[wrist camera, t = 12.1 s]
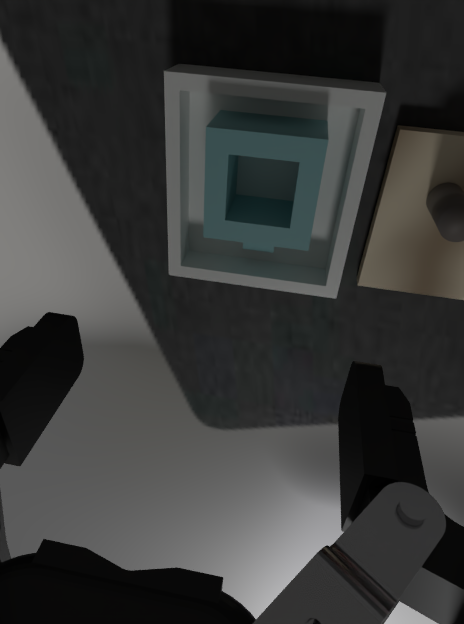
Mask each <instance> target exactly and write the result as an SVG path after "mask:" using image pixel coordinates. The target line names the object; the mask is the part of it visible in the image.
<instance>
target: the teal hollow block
mask: <svg viewBox="0 0 464 624" xmlns="http://www.w3.org/2000/svg"><path fill="white" fill-rule="evenodd" d="M328 140H329V139H328V121H325V120H315V119H305V118H296V117H286V116H276V115H266V114H256V113H246V112H236V111H227V110H220V111H219V112H218V113H217V115H216V116H215V117H214V118H213V119H212V120H211V122H210V123H209V124H208V125H207V126H206V143H205V184H204V225H203V237H205V238H213V239H220V240H228V241H236V242H243V249H248V250H256V251H263V252H271V253H273V252H274V247H282V248H290V249H297V250H305V251H308V250H309V245H310V239H311V234H312V228H313V223H314V217H315V212H316V206H317V201H318V195H319V190H320V184H321V179H322V173H323V168H324V162H325V157H326V151H327V146H328ZM239 156H248V157H257V158H266V159H275V160H284V161H293V162H299V167H298V174H297V181H296V188H295V194H294V201H288V200H280V199H272V198H263V197H255V196H246V195H238V194H236V187H237V173H238V158H239Z"/></svg>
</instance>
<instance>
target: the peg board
mask: <svg viewBox="0 0 464 624" xmlns="http://www.w3.org/2000/svg"><path fill="white" fill-rule="evenodd" d="M357 284H358V285H359V286H366V287H373V288H380V289H388V290H395V291H402V292H409V293H417V294H424V295H431V296H438V297H446V298H453V299H460V300H464V132H458V131H449V130H439V129H429V128H420V127H410V126H401V125H398V126H397V130H396V133H395V137H394V141H393V145H392V148H391V152H390V156H389V159H388V163H387V167H386V171H385V174H384V178H383V182H382V186H381V189H380V193H379V197H378V200H377V204H376V208H375V212H374V215H373V219H372V223H371V226H370V230H369V234H368V238H367V241H366V245H365V249H364V253H363V256H362V260H361V264H360V267H359V271H358V275H357Z"/></svg>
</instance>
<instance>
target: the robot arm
mask: <svg viewBox="0 0 464 624" xmlns="http://www.w3.org/2000/svg"><path fill="white" fill-rule="evenodd" d="M83 361H84V356H83V349H82V344H81V339H80V333H79V327H78V322H77V319H76V318H75V317H74V316H70V315H64V314H58V313H51V312H48V313H46V314H45V315H44V316H43V317H42V318H41V319H40V321H39V322H38V323H37V324H36V325H35V326H34V327H29V326H28V327H26V328H24V329H23V330H21V331H19V332H18V333H16V334H14V335H12V336H11V337H10V338H9V339H8V340H7V341H6V342H5V343H4V345H3V346H2V347H1V348H0V468H1V467H2V465H3V464H4V463H6V464H11V465H16V466H21V464H22V463H23V461H24V460H25V458H26V457H27V455H28V454H29V452H30V451H31V449H32V447H33V446H34V444H35V443H36V441H37V440H38V438H39V437H40V435H41V434H42V432H43V431H44V429H45V428H46V426H47V424H48V423H49V421H50V420H51V418H52V417H53V415H54V414H55V412H56V411H57V409H58V407H59V406H60V404H61V403H62V401H63V400H64V398H65V397H66V395H67V394H68V392H69V391H70V389H71V387H72V386H73V384H74V383H75V381H76V380H77V378H78V376H79V375H80V373H81V370H82V367H83ZM338 426H339V458H340V459H339V461H340V495H341V528H342V531H344V533H343V534H342V535H341V536H340V537H339V538H338V540H337V541H336V542H335V543H334V544H333V545H331V546H330V547H329V546H325V547H323V548H322V549H321V550H320V551H319V552H318V553H317V554H316V555H315V556H314V557H313V558H312V559H311V560H310V561H309V563H308V564H307V565H306V566H305V567H304V568H303V569H302V570H301V571H300V572H299V573H298V575H297V576H296V577H295V578H294V579H293V580H292V581H291V582H290V583H289V584H288V585H287V587H286V588H285V589H284V590H283V591H282V592H281V593H280V594H279V595H278V596H277V598H276V599H275V600H274V601H273V602H272V603H271V604H270V605H269V606H268V607H267V608H266V610H265V611H264V612H263V613H262V614H261V615H260V616H259V617H258V618H257V619H255V618H254V617H253V615H252V614H251V613H250V612H249V611H248V610H247V609H246V608H245V607H244V606H243V605H242V604H241V603H239V602H238V601H237V600H235V599H234V598H233V597H231V596H230V595H228V594H226V593H224V592H223V591H222V583H223V577H219V576H214V575H209V574H205V573H200V572H195V571H190V570H186V569H181V568H166V569H150V570H135V571H128V570H125V569H122V568H121V567H119V566H117V565H115V564H113V563H112V562H110V561H108V560H106V559H105V558H103V557H101V556H99V555H98V554H96V553H94V552H92V551H90V550H88V549H87V548H83V547H79V546H74V545H69V544H64V543H60V542H55V541H51V540H46V539H43V541H42V543H41V545H40V547H39V549H38V551H37V553H32V554H26V555H22V556H18V557H15V558H12V559H11V556H10V553H9V549H8V545H7V541H6V535H5V527H4V517H3V509H2V500H1V492H0V624H384V622H385V621H386V620H387V618H388V617H389V615H390V614H391V612H392V611H393V610H394V608H395V607H396V605H397V604H398V602H399V601H400V602H402V603H404V604H406V605H407V606H409V607H411V608H413V609H414V610H416V611H418V612H419V613H421V614H423V615H425V616H426V617H428V618H430V619H432V620H433V621H435V622H437V623H439V624H464V527H463V526H461V525H459V524H458V523H456V522H454V521H453V520H451V519H450V518H449V517H447V516H446V515H445V514H444V512H443V510H442V508H441V507H440V505H439V504H438V502H437V501H436V500H435V499H434V498H433V497H432V496H431V495H430V494H429V492H428V489H427V485H426V480H425V475H424V470H423V465H422V461H421V456H420V451H419V446H418V441H417V437H416V436H415V435H416V431H415V427H414V423H413V417H412V412H411V407H410V403H409V401H408V400H407V398H406V397H405V396H404V394H403V393H402V391H401V390H400V388H399V387H393V386H387V385H385V382H384V376H383V370H382V366H381V365H376V364H369V363H363V362H357V361H353V362H352V364H351V367H350V371H349V374H348V378H347V381H346V384H345V388H344V391H343V394H342V398H341V402H340V407H339V417H338Z"/></svg>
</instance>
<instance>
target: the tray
mask: <svg viewBox="0 0 464 624" xmlns="http://www.w3.org/2000/svg"><path fill="white" fill-rule="evenodd" d="M164 92H165V133H166V175H167V216H168V258H169V275H173V276H180V277H187V278H195V279H202V280H209V281H216V282H223V283H230V284H237V285H244V286H251V287H258V288H265V289H272V290H279V291H286V292H293V293H300V294H308V295H315V296H322V297H329V298H336V297H337V293H338V289H339V284H340V280H341V276H342V272H343V268H344V264H345V260H346V256H347V252H348V248H349V243H350V239H351V235H352V231H353V227H354V223H355V219H356V215H357V211H358V207H359V203H360V198H361V194H362V190H363V186H364V182H365V178H366V174H367V170H368V166H369V162H370V157H371V153H372V149H373V145H374V141H375V137H376V133H377V129H378V125H379V121H380V117H381V112H382V108H383V104H384V100H385V96H386V92H385V90H384V89H383V87H382V86H381V84H380V83H376V82H366V81H356V80H345V79H335V78H324V77H314V76H303V75H293V74H282V73H272V72H261V71H251V70H241V69H230V68H220V67H209V66H199V65H188V64H177V65H175V66H173V67H171V68H169V69H167V70H165V71H164ZM220 110H227V111H236V112H246V113H256V114H266V115H276V116H286V117H296V118H305V119H315V120H325V121H328V139H329V140H328V146H327V151H326V157H325V162H324V168H323V173H322V179H321V184H320V190H319V195H318V201H317V206H316V212H315V217H314V223H313V228H312V234H311V239H310V245H309V250H308V251H305V250H297V249H290V248H282V247H274V252H273V253H271V252H263V251H256V250H248V249H243V242H236V241H228V240H220V239H213V238H205V237H203V225H204V184H205V143H206V126H207V125H208V124H209V123H210V122H211V120H212V119H213V118H214V117H215V116H216V115H217V113H218V112H219V111H220ZM298 167H299V162H293V161H284V160H275V159H266V158H257V157H248V156H239V158H238V173H237V187H236V194H238V195H246V196H255V197H263V198H272V199H280V200H288V201H294V194H295V188H296V181H297V174H298Z"/></svg>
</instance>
